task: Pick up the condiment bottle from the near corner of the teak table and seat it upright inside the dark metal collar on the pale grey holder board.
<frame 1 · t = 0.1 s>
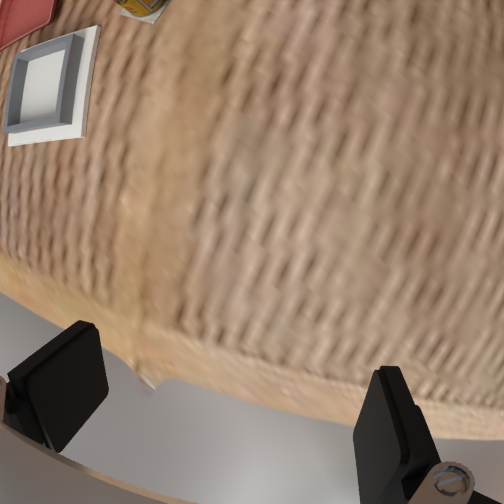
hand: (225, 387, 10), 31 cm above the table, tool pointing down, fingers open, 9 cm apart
plant saucer: (34, 7, 36), on the table
holder: (50, 88, 39), on the table
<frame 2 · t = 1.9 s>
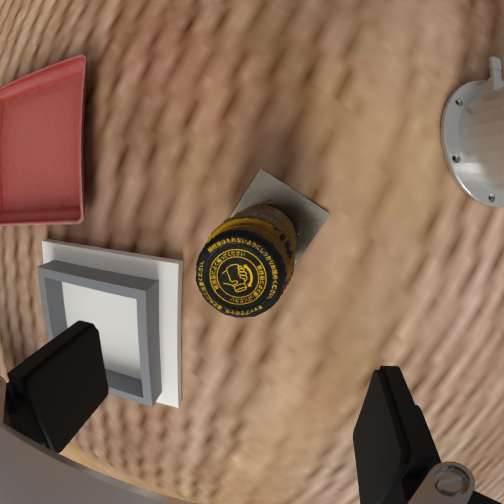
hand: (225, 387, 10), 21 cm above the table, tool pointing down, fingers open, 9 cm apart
plant saucer: (42, 147, 31), on the table
condiment: (269, 229, 30), on the table
holder: (109, 323, 35), on the table
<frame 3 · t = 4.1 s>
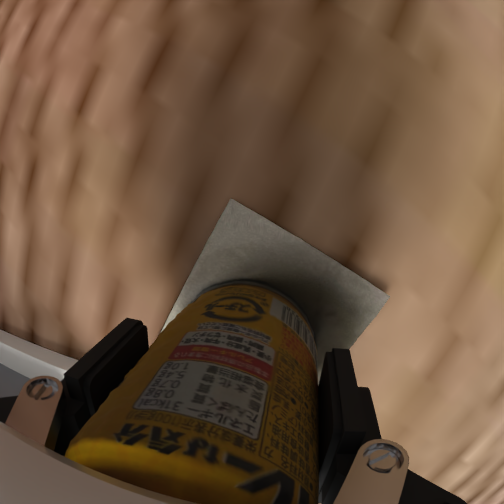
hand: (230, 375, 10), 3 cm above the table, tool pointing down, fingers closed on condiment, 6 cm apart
condiment: (259, 328, 14), on the table, touching gripper
holder: (34, 424, 19), on the table
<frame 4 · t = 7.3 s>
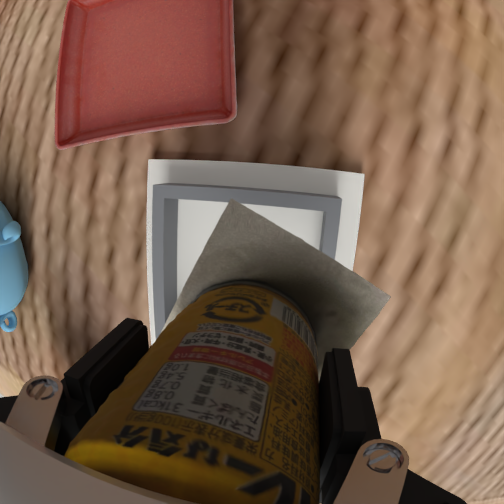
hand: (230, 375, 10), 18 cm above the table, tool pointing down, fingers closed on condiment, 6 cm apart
plant saucer: (149, 51, 26), on the table
condiment: (259, 328, 14), point 15 cm above the table, touching gripper
holder: (246, 267, 29), on the table
decorative pot: (3, 250, 34), on the table
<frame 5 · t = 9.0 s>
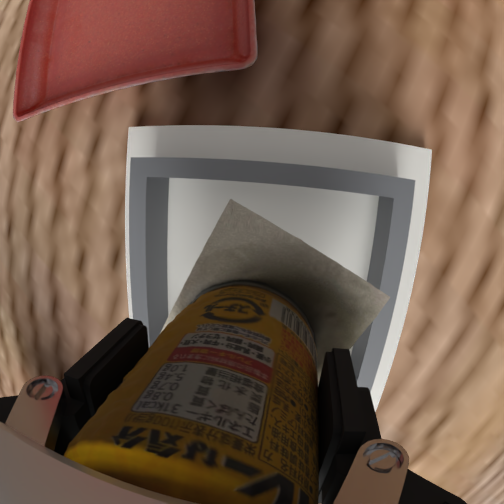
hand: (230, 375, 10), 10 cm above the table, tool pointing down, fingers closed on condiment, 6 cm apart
condiment: (259, 329, 14), point 7 cm above the table, touching gripper
holder: (265, 279, 20), on the table
when the fingers open (6 cm above the table, at t = 10.3 s): condiment drops 1 cm, resting on holder.
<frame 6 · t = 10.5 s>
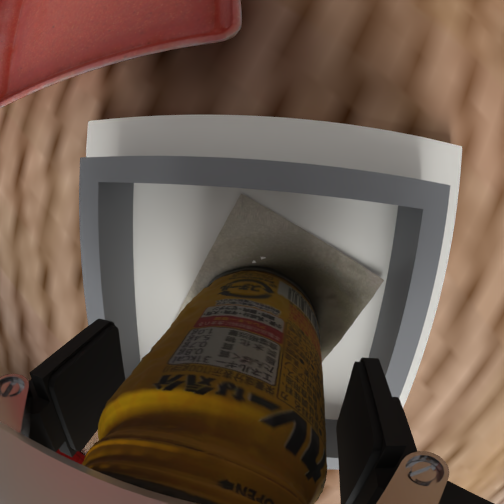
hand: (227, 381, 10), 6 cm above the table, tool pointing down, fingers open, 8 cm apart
condiment: (266, 311, 15), point 1 cm above the table, touching holder
holder: (254, 306, 16), on the table
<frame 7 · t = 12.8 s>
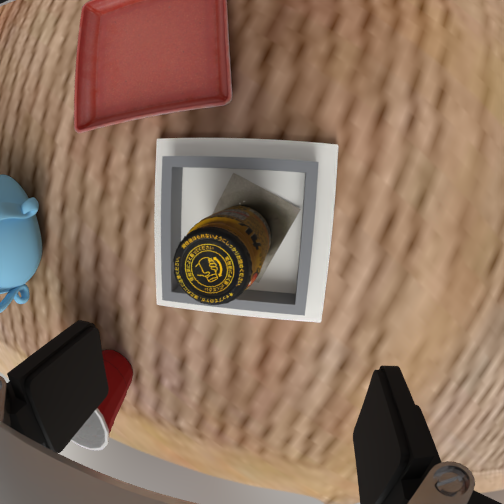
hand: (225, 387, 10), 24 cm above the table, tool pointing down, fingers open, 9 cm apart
plant saucer: (156, 50, 30), on the table
condiment: (246, 228, 32), point 1 cm above the table, touching holder
plastic cup: (114, 365, 40), on the table
holder: (241, 228, 33), on the table
decorative pot: (17, 230, 38), on the table
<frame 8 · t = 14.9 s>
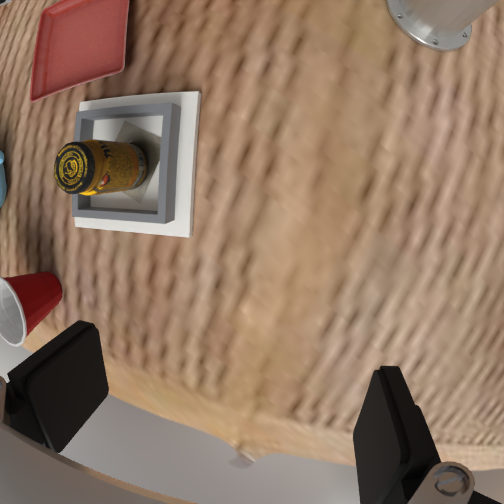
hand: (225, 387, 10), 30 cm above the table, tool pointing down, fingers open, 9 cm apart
plant saucer: (87, 40, 37), on the table
condiment: (133, 161, 38), point 1 cm above the table, touching holder
plastic cup: (50, 286, 47), on the table
holder: (132, 162, 40), on the table
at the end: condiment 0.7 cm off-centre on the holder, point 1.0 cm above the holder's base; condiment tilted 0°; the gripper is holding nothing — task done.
